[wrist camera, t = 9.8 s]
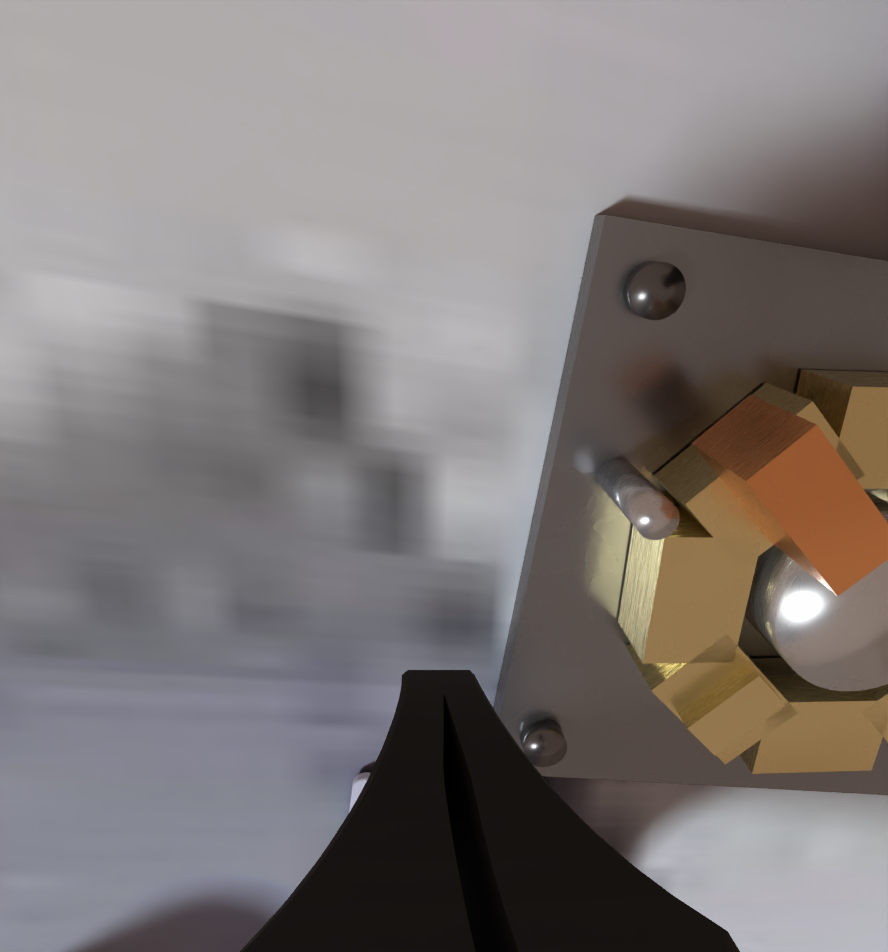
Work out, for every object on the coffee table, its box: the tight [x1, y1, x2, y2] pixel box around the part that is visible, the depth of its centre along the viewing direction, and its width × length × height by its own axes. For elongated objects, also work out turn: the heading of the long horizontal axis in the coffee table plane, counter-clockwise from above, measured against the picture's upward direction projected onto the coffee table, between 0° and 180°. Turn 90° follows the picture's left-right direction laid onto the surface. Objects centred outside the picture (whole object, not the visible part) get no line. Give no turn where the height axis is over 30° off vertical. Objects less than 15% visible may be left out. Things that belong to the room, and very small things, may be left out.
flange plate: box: [493, 215, 888, 795], centre depth 22 cm, size 20×20×4 cm
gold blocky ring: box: [618, 370, 888, 774], centre depth 20 cm, size 14×15×5 cm
